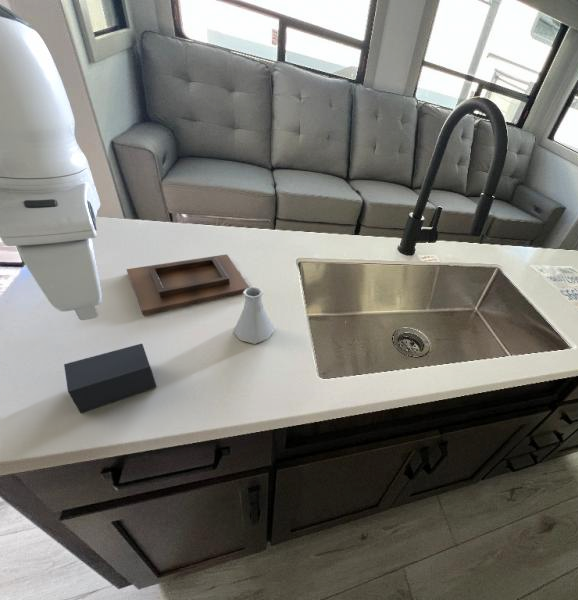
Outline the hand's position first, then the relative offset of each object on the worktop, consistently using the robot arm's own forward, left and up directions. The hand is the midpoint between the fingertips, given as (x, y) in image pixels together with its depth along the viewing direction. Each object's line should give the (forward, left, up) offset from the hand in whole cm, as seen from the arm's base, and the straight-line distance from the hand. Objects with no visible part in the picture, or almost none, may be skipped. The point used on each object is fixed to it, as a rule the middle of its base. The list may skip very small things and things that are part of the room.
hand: (83, 293), depth 43 cm
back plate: (+16, +20, -16) cm, 31 cm away
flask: (+22, 0, -17) cm, 27 cm away
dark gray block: (0, -3, -16) cm, 17 cm away
